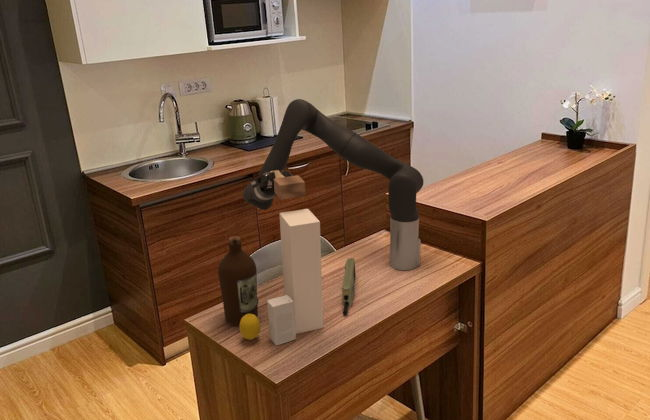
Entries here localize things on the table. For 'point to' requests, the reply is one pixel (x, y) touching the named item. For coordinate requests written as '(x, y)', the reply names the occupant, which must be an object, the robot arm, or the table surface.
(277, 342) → the skincare box
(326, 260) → the table surface
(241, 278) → the olive oil
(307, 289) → the stand
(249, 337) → the lemon
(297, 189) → the mallet
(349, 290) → the handheld radio
